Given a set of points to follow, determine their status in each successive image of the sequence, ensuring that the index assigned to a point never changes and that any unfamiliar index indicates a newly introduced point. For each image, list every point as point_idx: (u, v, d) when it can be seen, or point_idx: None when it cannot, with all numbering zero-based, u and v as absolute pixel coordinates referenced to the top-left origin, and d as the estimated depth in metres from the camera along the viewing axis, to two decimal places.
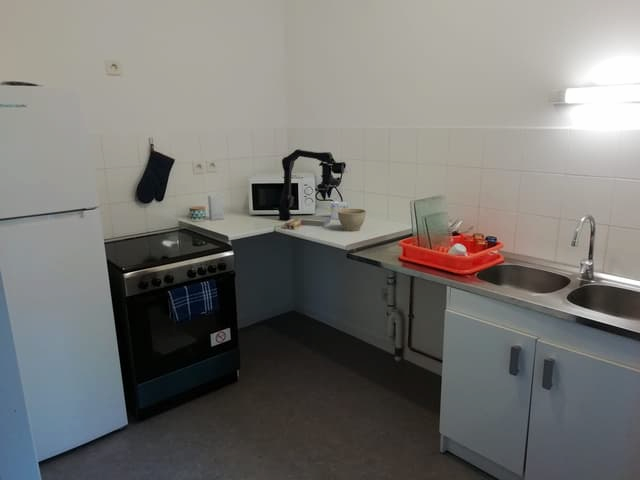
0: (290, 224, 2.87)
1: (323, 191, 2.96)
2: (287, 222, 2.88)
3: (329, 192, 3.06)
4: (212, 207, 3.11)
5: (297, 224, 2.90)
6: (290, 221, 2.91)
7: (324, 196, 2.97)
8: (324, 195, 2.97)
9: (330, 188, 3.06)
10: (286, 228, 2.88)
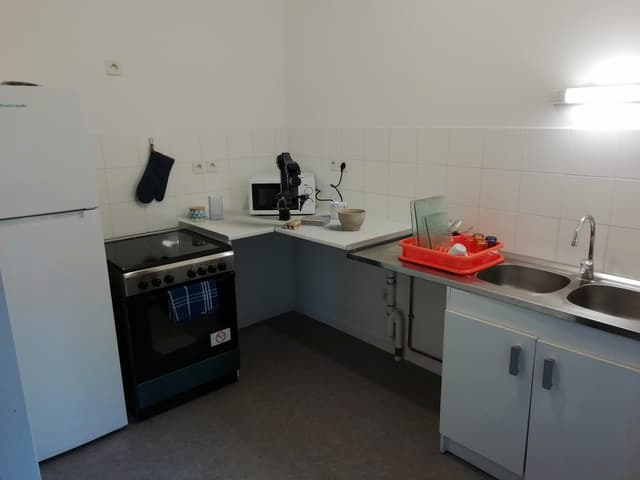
0: (290, 224, 2.87)
1: None
2: (287, 222, 2.88)
3: None
4: (212, 207, 3.11)
5: (297, 224, 2.90)
6: (290, 221, 2.91)
7: None
8: None
9: None
10: (286, 228, 2.88)
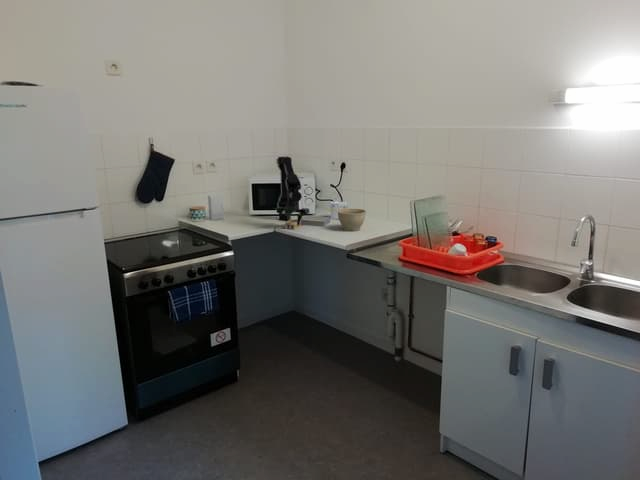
0: (290, 224, 2.87)
1: None
2: (287, 222, 2.88)
3: None
4: (212, 207, 3.11)
5: (297, 224, 2.90)
6: (290, 221, 2.91)
7: None
8: None
9: None
10: (286, 228, 2.88)
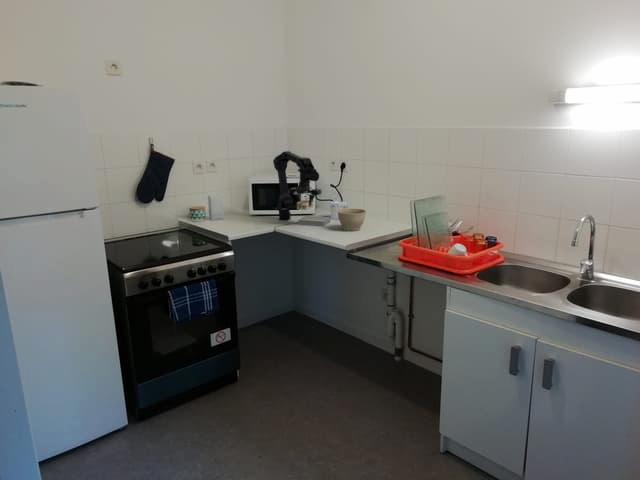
0: (302, 204, 2.91)
1: None
2: (299, 202, 2.92)
3: None
4: (212, 207, 3.11)
5: None
6: (302, 201, 2.94)
7: None
8: None
9: None
10: (298, 208, 2.92)
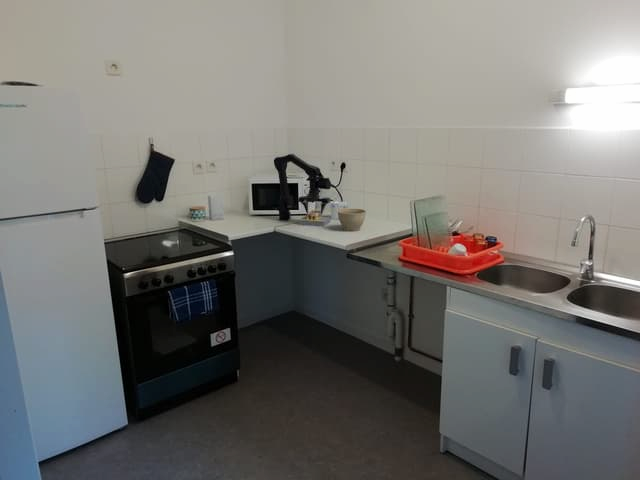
0: (312, 215, 2.97)
1: None
2: (309, 213, 2.98)
3: None
4: (212, 207, 3.11)
5: (318, 215, 3.01)
6: (311, 212, 3.01)
7: None
8: None
9: None
10: (308, 219, 2.99)
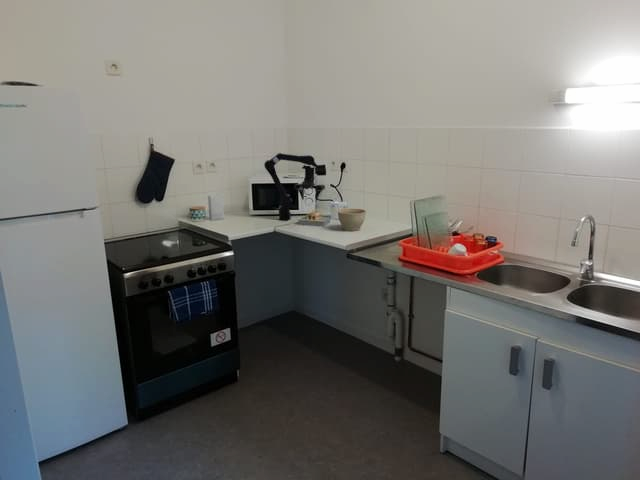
0: (312, 215, 2.97)
1: None
2: (309, 213, 2.98)
3: None
4: (212, 207, 3.11)
5: (318, 215, 3.01)
6: (311, 212, 3.01)
7: None
8: None
9: None
10: (308, 219, 2.99)
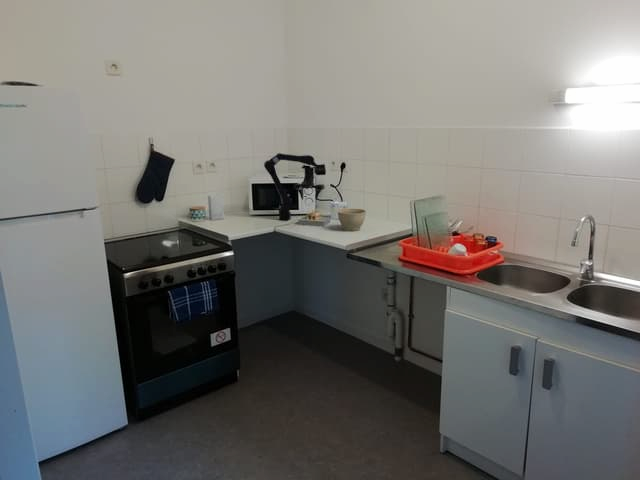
0: (312, 215, 2.97)
1: None
2: (309, 213, 2.98)
3: None
4: (212, 207, 3.11)
5: (318, 215, 3.01)
6: (311, 212, 3.01)
7: None
8: None
9: None
10: (308, 219, 2.99)
